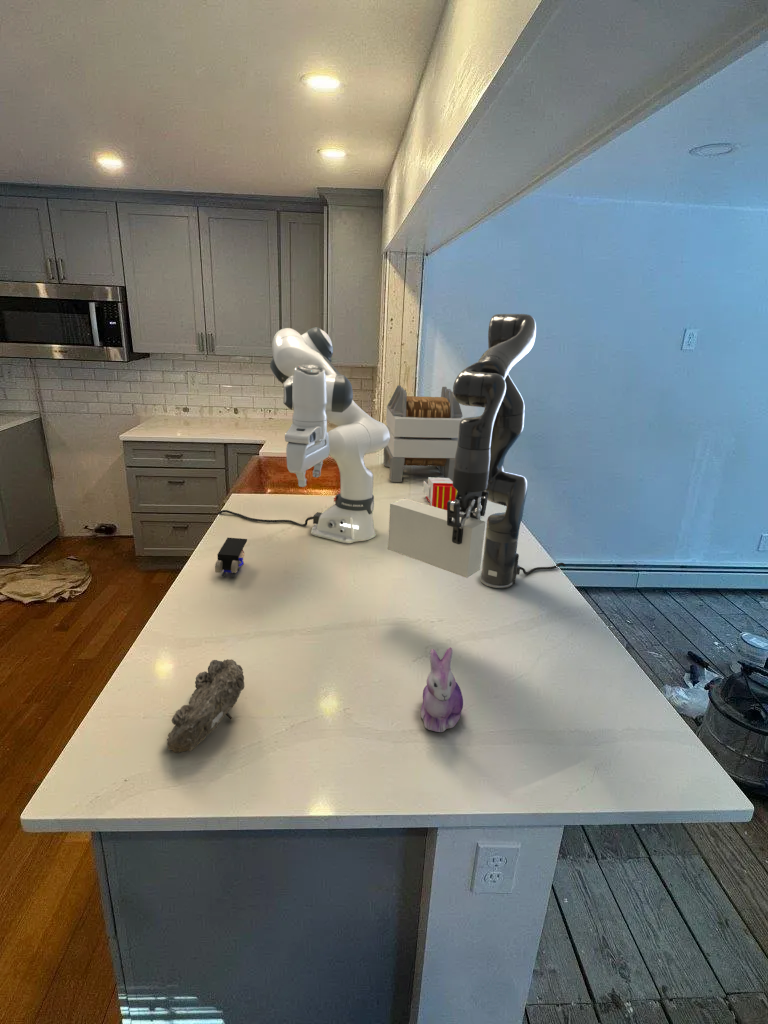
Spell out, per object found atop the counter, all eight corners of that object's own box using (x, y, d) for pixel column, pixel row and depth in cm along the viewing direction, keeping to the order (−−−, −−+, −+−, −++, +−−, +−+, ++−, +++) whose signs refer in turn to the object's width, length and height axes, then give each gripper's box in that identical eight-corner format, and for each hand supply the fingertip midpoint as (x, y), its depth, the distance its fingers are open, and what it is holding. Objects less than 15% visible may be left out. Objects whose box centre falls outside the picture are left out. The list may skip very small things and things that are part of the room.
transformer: (382, 463, 289) (386, 382, 275) (445, 464, 293) (451, 384, 279) (390, 482, 257) (394, 392, 243) (460, 483, 261) (468, 394, 247)
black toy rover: (238, 584, 162) (249, 557, 175) (236, 562, 158) (247, 536, 172) (215, 584, 161) (227, 556, 175) (212, 561, 158) (225, 535, 171)
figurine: (434, 741, 104) (440, 672, 99) (407, 708, 113) (411, 643, 108) (476, 726, 108) (484, 660, 103) (446, 695, 117) (452, 632, 112)
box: (387, 549, 139) (390, 503, 135) (402, 542, 144) (404, 498, 139) (466, 578, 126) (472, 528, 122) (480, 570, 130) (485, 521, 126)
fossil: (192, 660, 117) (244, 628, 112) (224, 691, 120) (276, 661, 115) (142, 746, 98) (202, 712, 93) (182, 779, 101) (242, 748, 96)
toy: (450, 473, 241) (461, 484, 212) (448, 504, 244) (459, 519, 214) (421, 472, 240) (429, 483, 211) (420, 503, 243) (427, 518, 214)
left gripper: (314, 422, 156) (314, 470, 161) (281, 436, 138) (282, 490, 143) (335, 424, 155) (334, 472, 160) (305, 438, 136) (305, 493, 141)
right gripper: (469, 476, 114) (461, 553, 120) (503, 464, 125) (494, 535, 131) (438, 469, 119) (432, 543, 124) (473, 458, 129) (466, 526, 135)
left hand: (309, 481), depth 151 cm, fingers open, 8 cm apart
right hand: (464, 538), depth 128 cm, fingers closed on box, 6 cm apart
